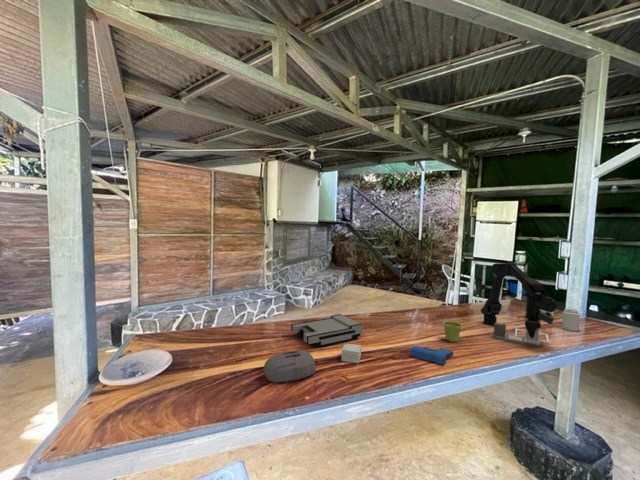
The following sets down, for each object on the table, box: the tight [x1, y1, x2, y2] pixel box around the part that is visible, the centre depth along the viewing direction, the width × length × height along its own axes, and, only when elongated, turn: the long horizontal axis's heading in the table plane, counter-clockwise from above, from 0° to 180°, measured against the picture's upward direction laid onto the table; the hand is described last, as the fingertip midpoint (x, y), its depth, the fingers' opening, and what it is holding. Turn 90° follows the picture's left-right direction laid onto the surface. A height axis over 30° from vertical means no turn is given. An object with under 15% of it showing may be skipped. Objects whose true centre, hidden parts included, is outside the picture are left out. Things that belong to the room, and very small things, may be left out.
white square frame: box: [514, 328, 550, 345], centre depth 154 cm, size 15×15×1 cm
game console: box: [290, 313, 363, 349], centre depth 148 cm, size 21×32×8 cm, turn 119°
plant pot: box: [442, 320, 463, 343], centre depth 147 cm, size 9×9×9 cm
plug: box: [525, 327, 540, 342], centre depth 143 cm, size 5×5×6 cm
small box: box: [341, 343, 362, 364], centre depth 124 cm, size 8×8×5 cm
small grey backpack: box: [263, 350, 316, 384], centre depth 109 cm, size 15×8×20 cm
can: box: [561, 308, 581, 333], centre depth 165 cm, size 8×8×12 cm
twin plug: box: [493, 321, 507, 337], centre depth 152 cm, size 5×5×6 cm
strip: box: [491, 332, 540, 349], centre depth 148 cm, size 20×9×1 cm, turn 53°
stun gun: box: [410, 345, 454, 366], centre depth 128 cm, size 4×16×15 cm
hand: (531, 336), depth 143 cm, fingers closed on plug, 5 cm apart
